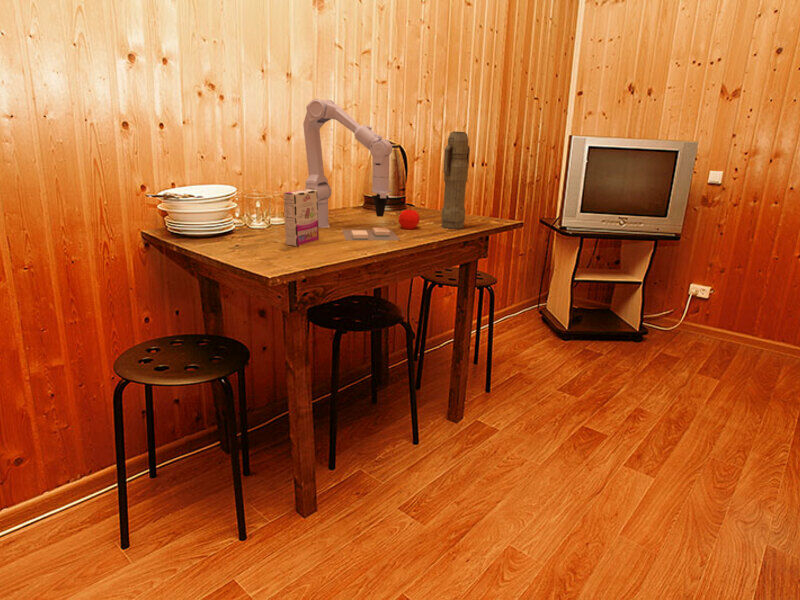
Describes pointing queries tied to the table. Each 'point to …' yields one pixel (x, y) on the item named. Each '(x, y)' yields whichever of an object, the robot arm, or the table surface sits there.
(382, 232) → the tile
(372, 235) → the slate board
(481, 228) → the table surface
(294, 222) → the candy bar box
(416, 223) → the apple
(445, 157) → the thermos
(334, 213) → the table surface
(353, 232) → the tile
